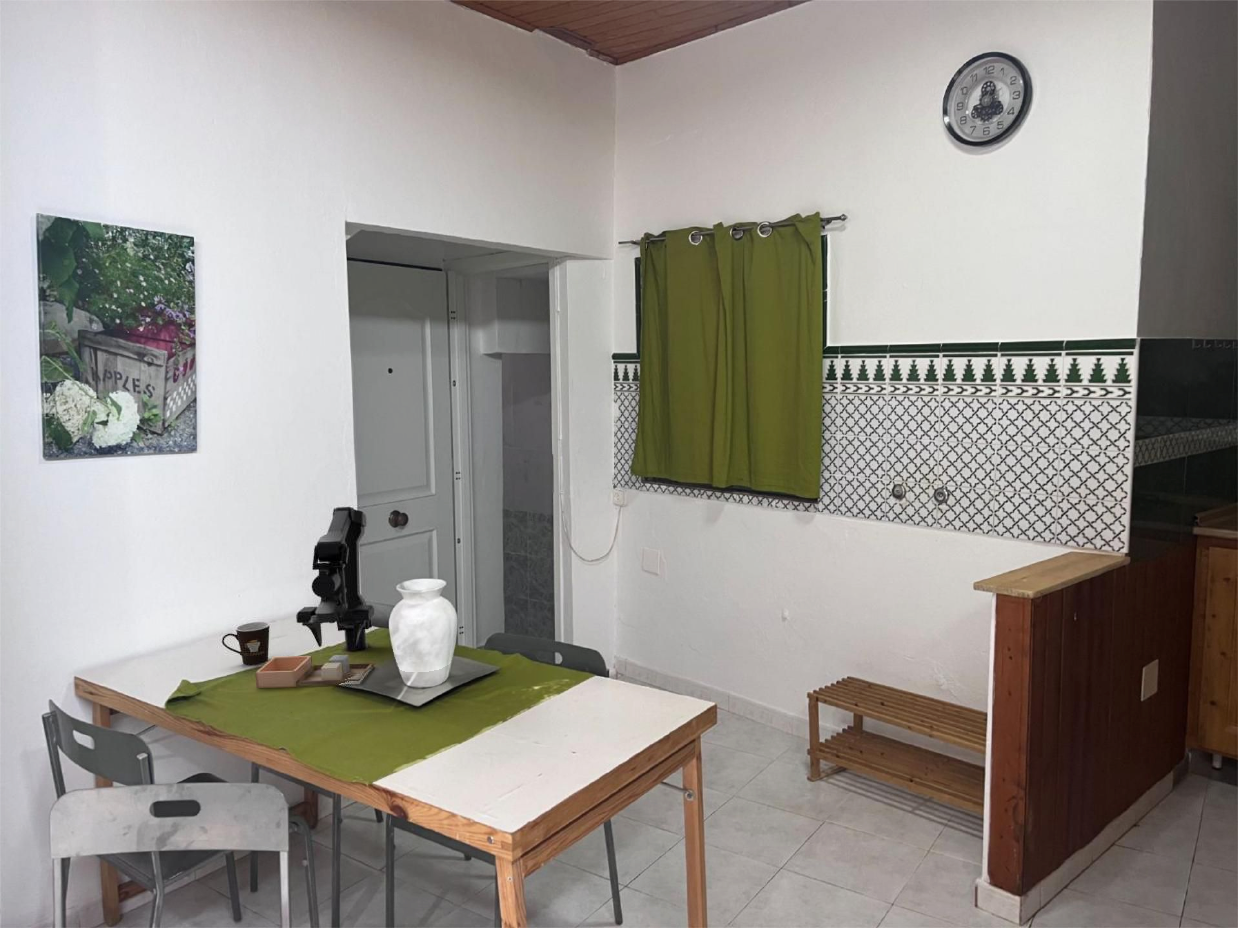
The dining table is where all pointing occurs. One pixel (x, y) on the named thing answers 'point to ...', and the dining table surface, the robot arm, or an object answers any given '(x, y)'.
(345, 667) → the pale grey matte cube
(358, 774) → the dining table surface
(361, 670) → the parts tray
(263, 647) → the coffee mug
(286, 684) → the pink storage bin
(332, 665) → the beige cube
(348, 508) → the robot arm
